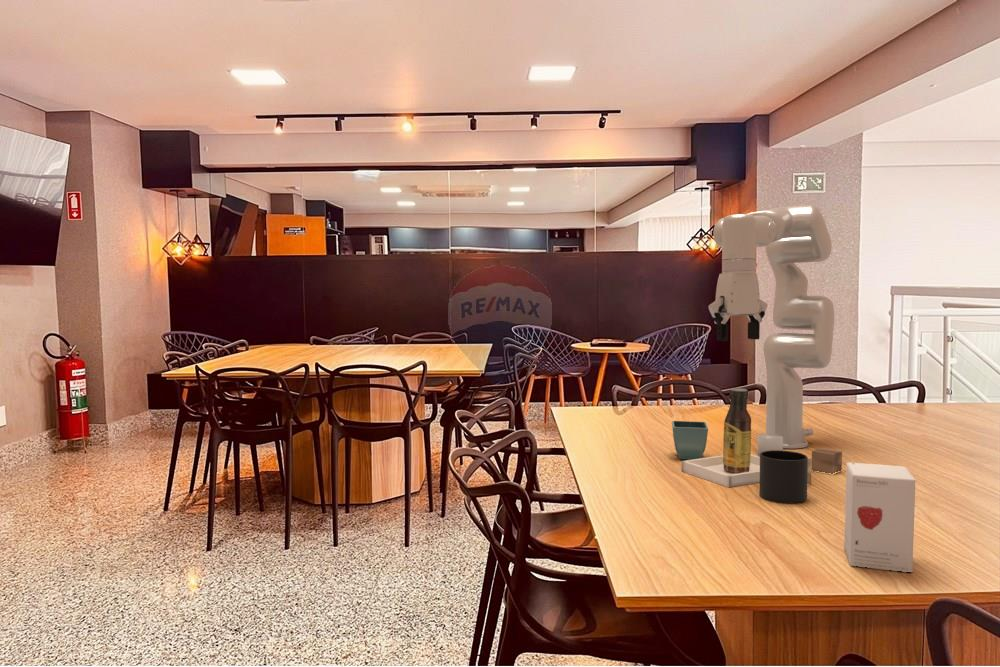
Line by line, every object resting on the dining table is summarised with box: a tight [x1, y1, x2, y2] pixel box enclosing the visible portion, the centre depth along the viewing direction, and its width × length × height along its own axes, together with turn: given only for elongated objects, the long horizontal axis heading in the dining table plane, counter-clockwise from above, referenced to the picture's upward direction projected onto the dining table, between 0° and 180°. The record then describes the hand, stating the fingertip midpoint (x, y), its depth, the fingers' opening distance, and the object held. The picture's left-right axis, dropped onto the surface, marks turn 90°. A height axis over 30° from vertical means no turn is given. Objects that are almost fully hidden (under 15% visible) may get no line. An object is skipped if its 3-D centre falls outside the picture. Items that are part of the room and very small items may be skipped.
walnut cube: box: [811, 447, 843, 474], centre depth 170 cm, size 5×5×5 cm
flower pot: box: [671, 420, 709, 460], centre depth 185 cm, size 9×9×9 cm
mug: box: [758, 450, 809, 504], centre depth 150 cm, size 9×12×9 cm
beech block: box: [807, 456, 812, 485], centre depth 160 cm, size 4×4×6 cm
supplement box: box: [843, 461, 916, 573], centre depth 114 cm, size 9×9×15 cm
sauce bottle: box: [722, 387, 752, 473], centre depth 168 cm, size 6×6×20 cm
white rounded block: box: [756, 433, 784, 457], centre depth 178 cm, size 6×6×7 cm
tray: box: [680, 454, 760, 488], centre depth 168 cm, size 20×16×2 cm
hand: (738, 339), depth 167 cm, fingers open, 9 cm apart
